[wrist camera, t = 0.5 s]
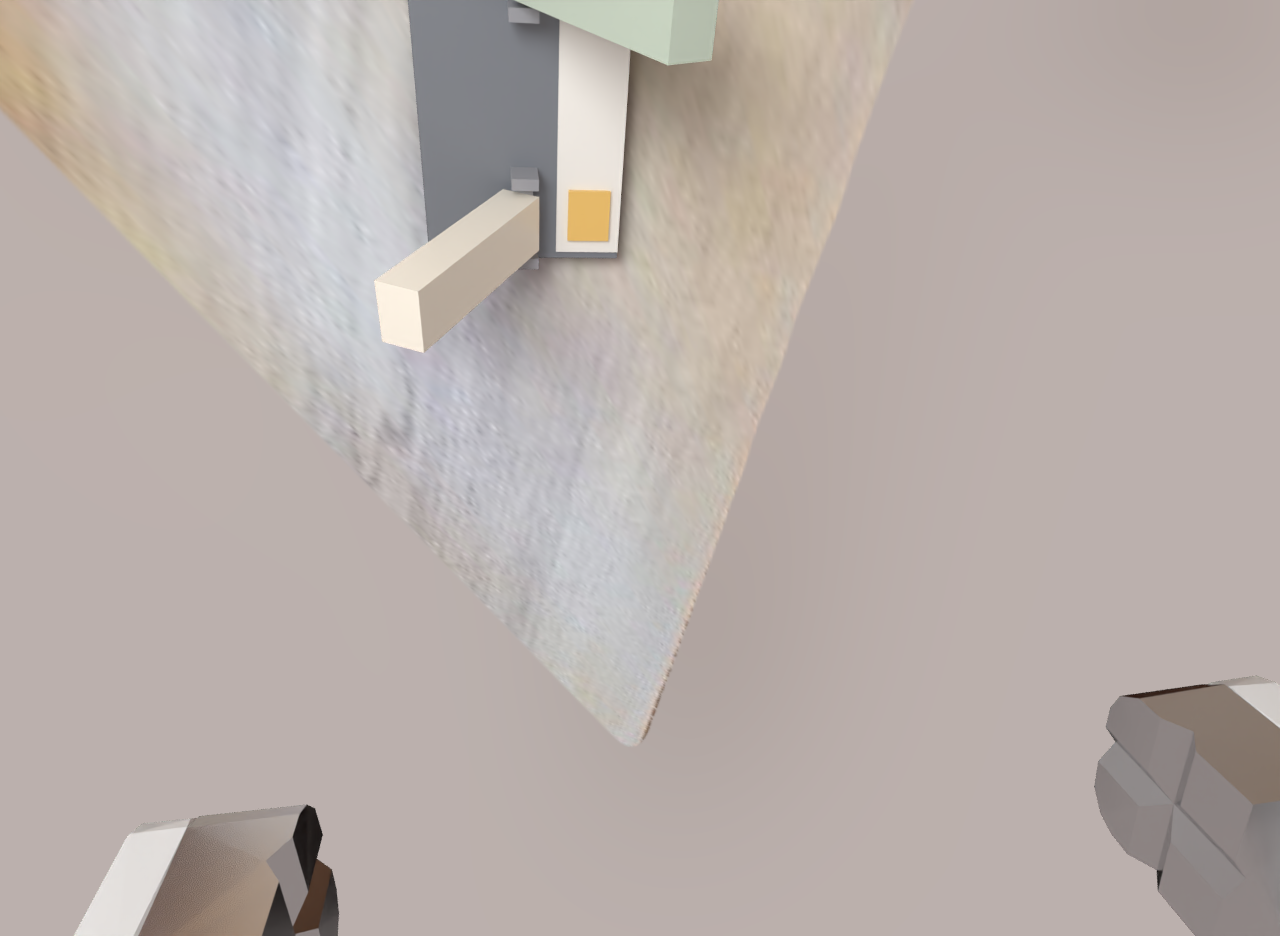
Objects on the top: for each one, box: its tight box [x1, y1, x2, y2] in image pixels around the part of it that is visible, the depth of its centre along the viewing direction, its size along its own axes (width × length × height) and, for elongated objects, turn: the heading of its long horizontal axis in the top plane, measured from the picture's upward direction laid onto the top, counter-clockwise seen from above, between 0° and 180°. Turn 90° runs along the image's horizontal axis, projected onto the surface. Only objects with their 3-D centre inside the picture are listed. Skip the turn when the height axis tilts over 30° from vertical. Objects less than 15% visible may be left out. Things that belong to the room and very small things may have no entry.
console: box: [408, 0, 630, 269], centre depth 48 cm, size 12×20×4 cm, turn 176°
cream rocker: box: [374, 189, 539, 353], centre depth 47 cm, size 2×4×15 cm
